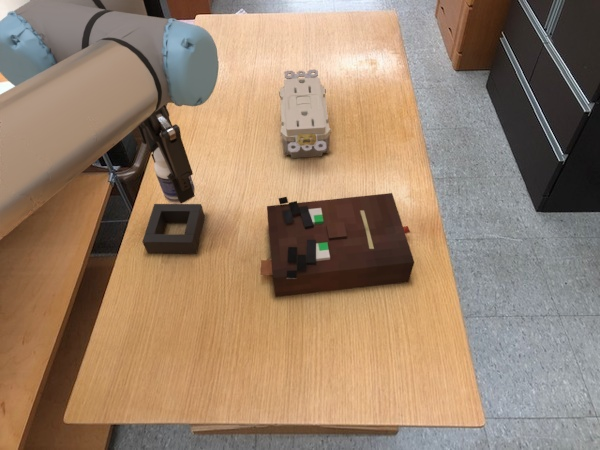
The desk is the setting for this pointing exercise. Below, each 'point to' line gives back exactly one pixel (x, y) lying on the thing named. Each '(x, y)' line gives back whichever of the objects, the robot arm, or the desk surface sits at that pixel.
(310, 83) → the electrical outlet
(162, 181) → the pill bottle
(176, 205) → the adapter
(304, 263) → the decorative book
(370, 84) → the desk surface
